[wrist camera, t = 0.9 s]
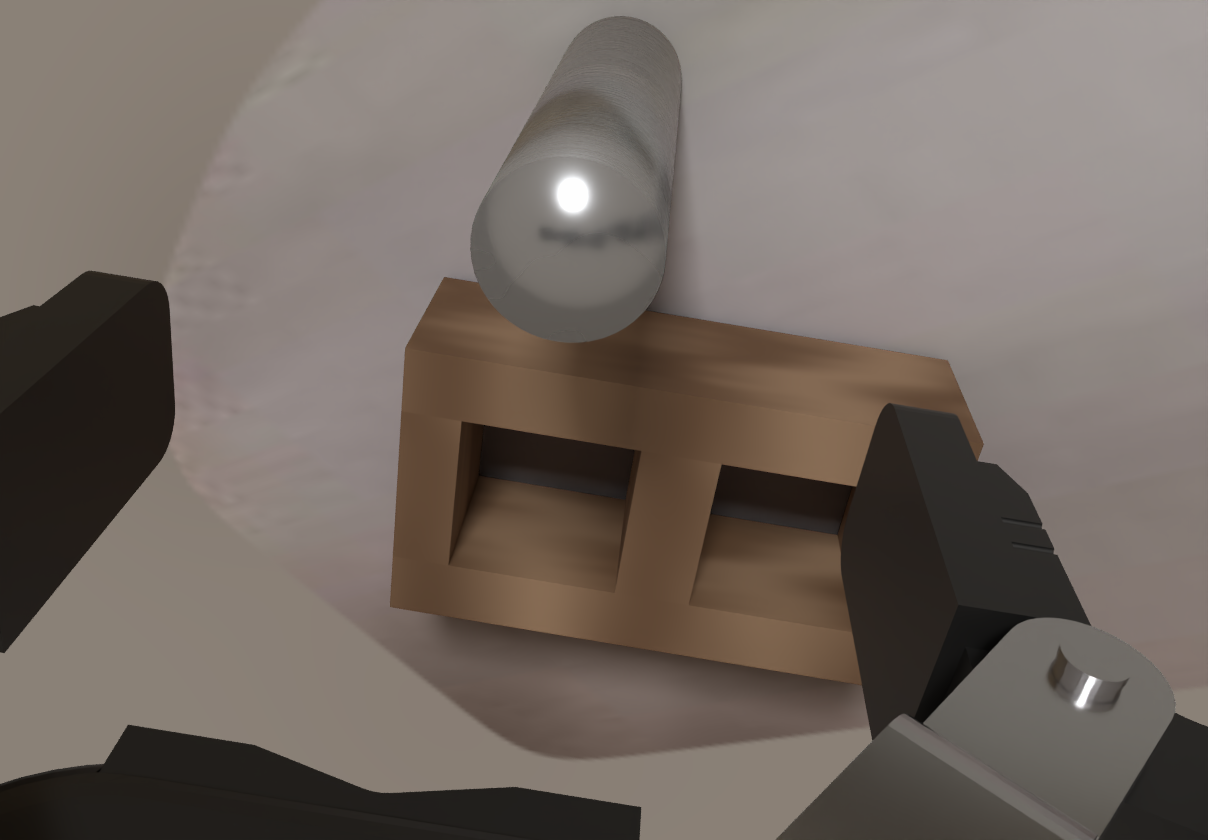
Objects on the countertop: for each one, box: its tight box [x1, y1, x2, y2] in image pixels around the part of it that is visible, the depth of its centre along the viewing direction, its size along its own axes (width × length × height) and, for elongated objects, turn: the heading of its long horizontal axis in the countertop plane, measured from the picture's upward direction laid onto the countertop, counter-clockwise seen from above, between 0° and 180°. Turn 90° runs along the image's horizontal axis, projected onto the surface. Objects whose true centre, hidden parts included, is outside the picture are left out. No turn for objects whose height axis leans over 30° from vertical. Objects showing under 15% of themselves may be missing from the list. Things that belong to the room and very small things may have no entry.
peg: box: [470, 16, 682, 343], centre depth 22 cm, size 3×3×12 cm
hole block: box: [390, 277, 984, 685], centre depth 30 cm, size 14×8×4 cm, turn 82°
